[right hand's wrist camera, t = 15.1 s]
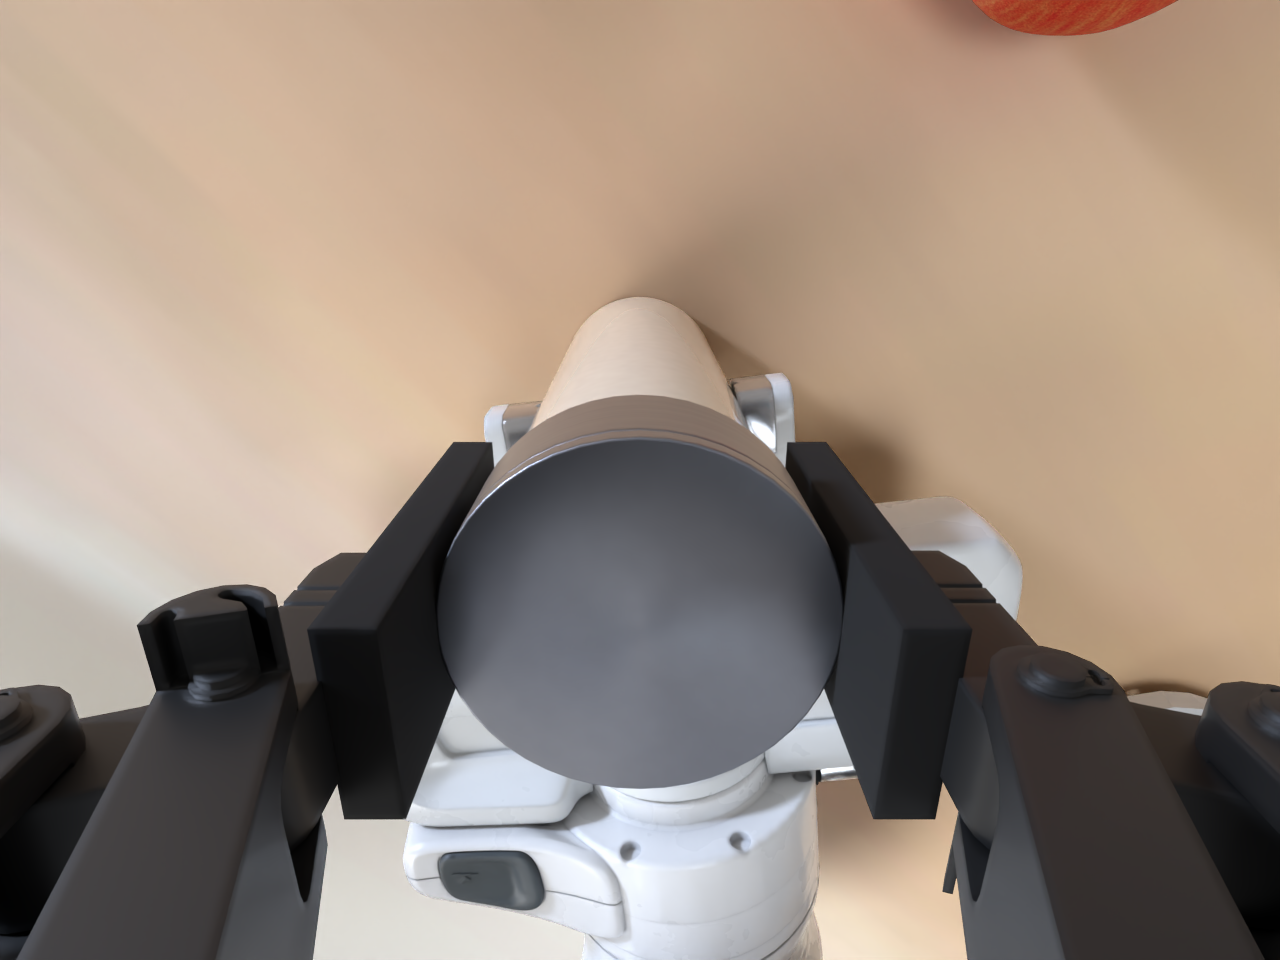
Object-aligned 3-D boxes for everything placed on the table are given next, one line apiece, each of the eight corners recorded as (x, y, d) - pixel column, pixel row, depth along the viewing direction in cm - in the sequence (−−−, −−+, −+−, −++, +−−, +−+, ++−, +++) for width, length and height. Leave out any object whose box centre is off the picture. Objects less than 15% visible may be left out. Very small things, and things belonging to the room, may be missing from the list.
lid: (878, 558, 12) (928, 631, 10) (640, 748, 14) (640, 847, 11) (639, 315, 11) (639, 342, 9) (401, 559, 12) (351, 633, 10)
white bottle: (743, 371, 26) (893, 614, 10) (640, 468, 27) (640, 809, 12) (639, 263, 24) (639, 362, 9) (536, 371, 26) (386, 616, 10)
